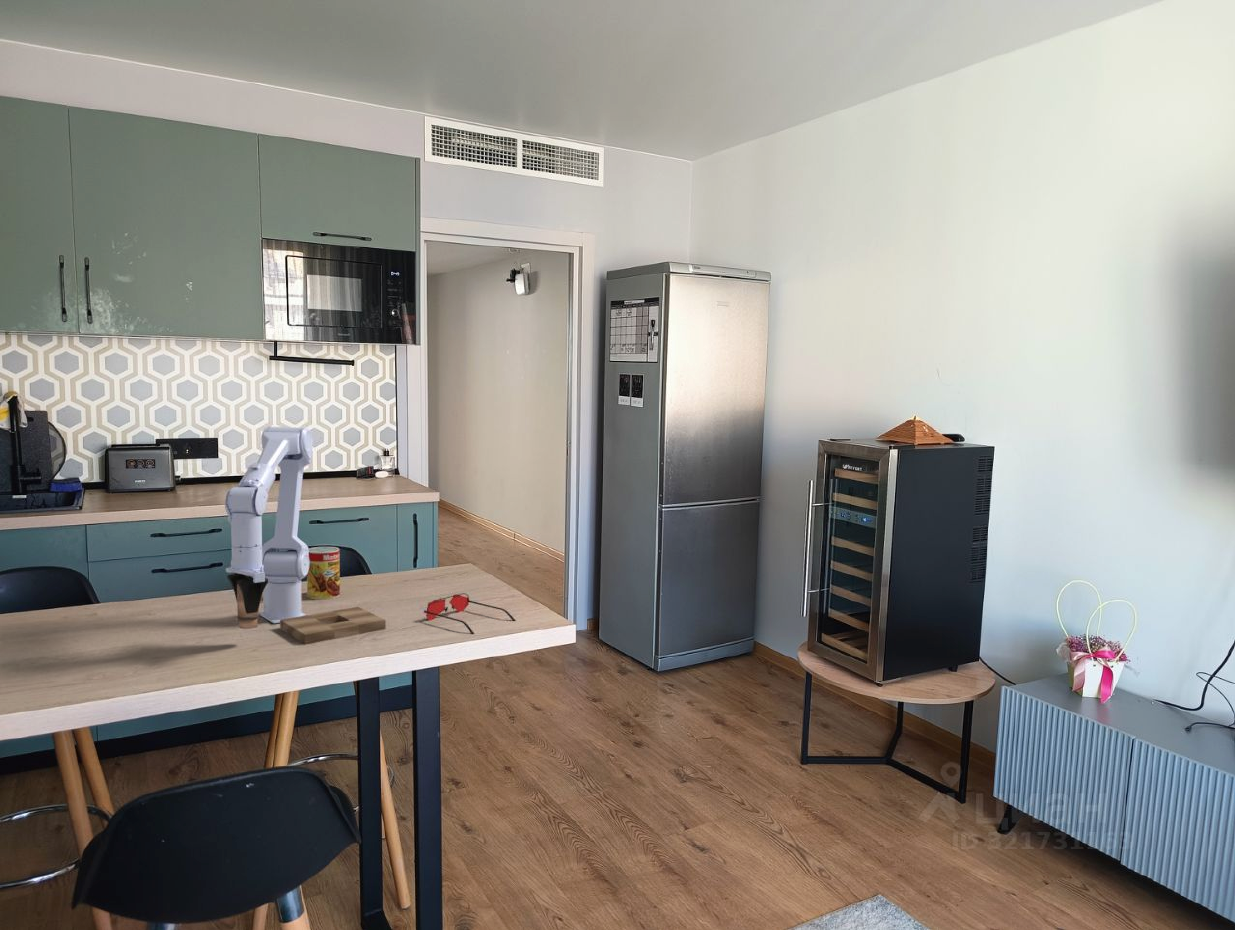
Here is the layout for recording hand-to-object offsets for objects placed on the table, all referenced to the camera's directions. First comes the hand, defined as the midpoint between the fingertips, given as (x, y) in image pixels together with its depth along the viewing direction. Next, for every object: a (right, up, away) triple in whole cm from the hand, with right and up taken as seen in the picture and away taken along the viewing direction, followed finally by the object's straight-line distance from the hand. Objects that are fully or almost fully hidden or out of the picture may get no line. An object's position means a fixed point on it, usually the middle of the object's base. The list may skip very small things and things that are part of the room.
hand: (248, 610), depth 168 cm
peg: (0, -3, 0) cm, 3 cm away
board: (+13, -6, +13) cm, 19 cm away
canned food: (+1, -4, +41) cm, 41 cm away
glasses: (+42, -7, +22) cm, 48 cm away
